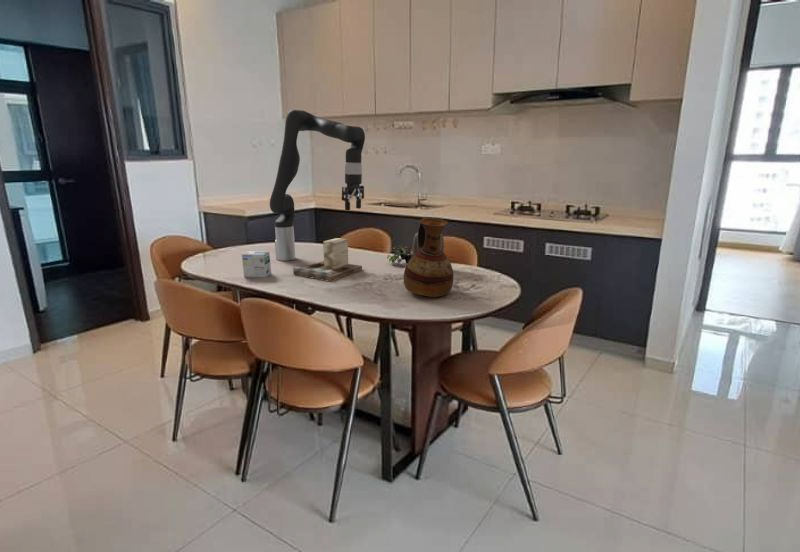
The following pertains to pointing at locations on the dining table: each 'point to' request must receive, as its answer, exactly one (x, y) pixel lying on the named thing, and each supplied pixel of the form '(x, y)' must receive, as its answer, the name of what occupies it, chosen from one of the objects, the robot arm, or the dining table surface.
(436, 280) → the ceramic pitcher
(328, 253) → the birch block
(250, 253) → the light bulb box
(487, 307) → the dining table surface
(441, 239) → the tabletop clock
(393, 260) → the passion flower
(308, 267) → the trap board
